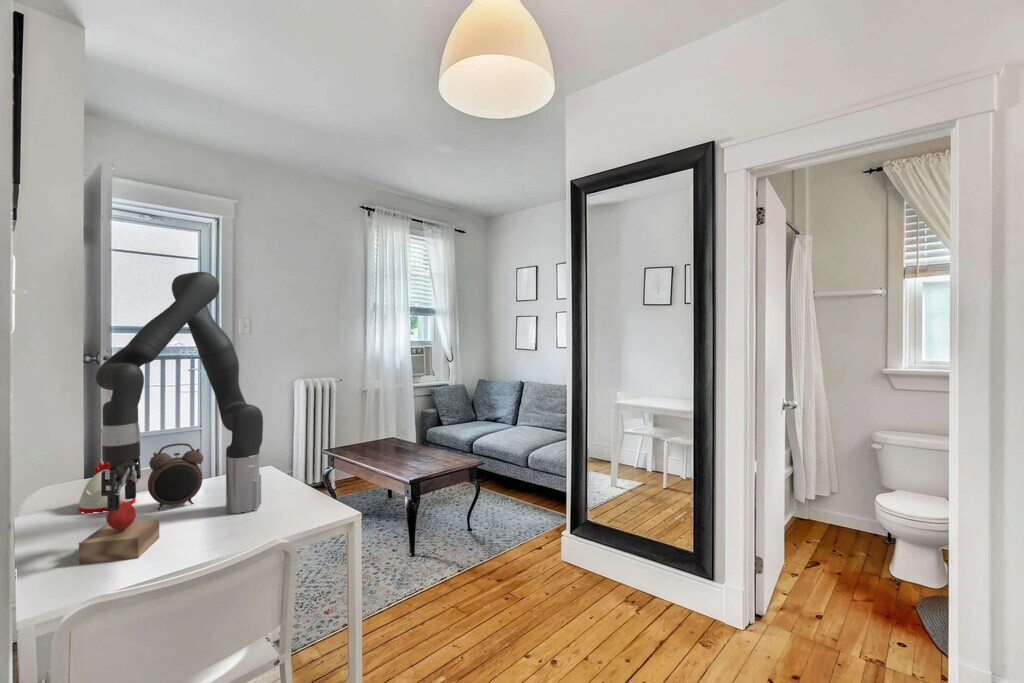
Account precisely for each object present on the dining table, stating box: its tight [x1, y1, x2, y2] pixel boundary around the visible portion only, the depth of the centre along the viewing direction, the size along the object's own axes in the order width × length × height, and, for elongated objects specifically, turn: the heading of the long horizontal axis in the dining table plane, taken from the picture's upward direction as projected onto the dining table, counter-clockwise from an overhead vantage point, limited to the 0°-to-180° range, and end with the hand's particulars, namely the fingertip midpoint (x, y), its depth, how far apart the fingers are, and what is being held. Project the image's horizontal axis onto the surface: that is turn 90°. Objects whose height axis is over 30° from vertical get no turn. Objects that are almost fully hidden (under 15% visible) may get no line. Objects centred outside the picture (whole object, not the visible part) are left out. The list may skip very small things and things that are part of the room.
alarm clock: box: [147, 442, 204, 511], centre depth 152 cm, size 15×7×20 cm, turn 129°
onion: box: [106, 500, 137, 531], centre depth 121 cm, size 6×6×8 cm
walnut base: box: [78, 519, 160, 565], centre depth 121 cm, size 12×12×5 cm
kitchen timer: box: [78, 461, 137, 513], centre depth 152 cm, size 14×14×15 cm
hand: (122, 504), depth 121 cm, fingers open, 8 cm apart
